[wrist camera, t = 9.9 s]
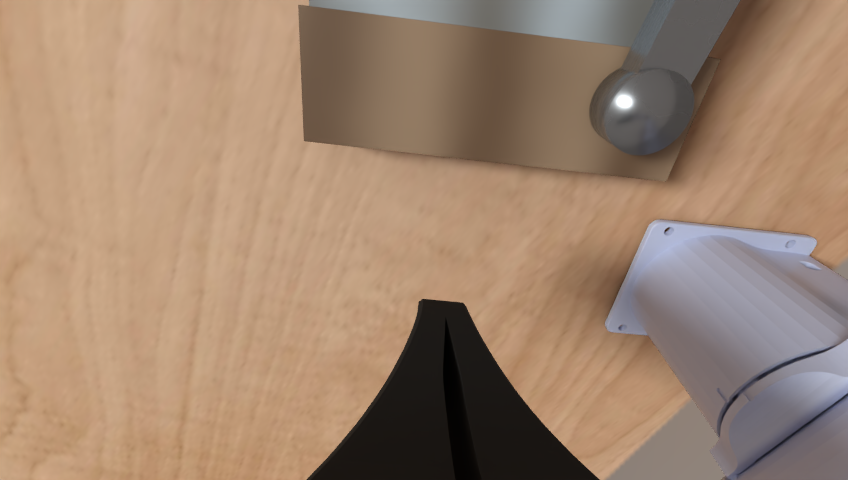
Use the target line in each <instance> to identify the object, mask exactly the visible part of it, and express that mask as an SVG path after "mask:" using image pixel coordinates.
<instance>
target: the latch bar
mask: <svg viewBox="0 0 848 480" xmlns="http://www.w3.org/2000/svg"><path fill="white" fill-rule="evenodd" d="M739 2H740V0H654V2H653V4H652V6H651V8H650V10H649V12H648V14H647V16H646V18H645V20H644V22H643V24H642V26H641V28H640V30H639V32H638V34H637V36H636V38H635V40H634V42H633V44H632V46H631V49H630V51H629V53H628V55H627V57H626V59H625V61H624V63H623V65H622V67H621V68H619V69H617V70H615V71H614V72H612V73H611V74H610V75H608V76H607V77H606V78H605V79H604V80H603V81H602V82H601V83H600V85H599V86H598V87H597V89H596V91H595V93H594V94H593V97H592V99H591V103H590V108H589V117H590V122H591V125H592V127H593V129H594V131H595V132H596V133H597V134H598V135H599V136H600V137H602V138H603V139H605V140H606V141H607V142H609V143H610V144H612V145H613V146H615V147H616V148H618V149H619V150H621V151H622V152H624V153H627V154H630V155H648V154H652V153H655V152H657V151H660V150H662V149H663V148H665V147H667V146H668V145H670V144H671V143H672V142H673V141H675V140H676V139H677V138H678V137H679V136H680V135H681V133H682V132H683V131H684V129H685V128H686V126H687V125H688V123H689V121H690V118H691V116H692V113H693V109H694V93H693V89H692V87H691V84H692V82H693V80H694V79H695V77H696V75H697V74H698V72H699V70H700V69H701V67H702V65H703V63H704V62H705V60H706V58H707V57H708V55H709V53H710V51H711V50H712V48H713V46H714V45H715V43H716V41H717V39H718V38H719V36H720V34H721V33H722V31H723V29H724V27H725V26H726V24H727V22H728V21H729V19H730V17H731V16H732V14H733V12H734V10H735V9H736V7H737V5H738V4H739Z"/></svg>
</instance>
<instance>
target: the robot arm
mask: <svg viewBox="0 0 848 480" xmlns="http://www.w3.org/2000/svg"><path fill="white" fill-rule="evenodd" d="M668 227H670V229H669V230H668V231H666V232H664V231H665V229H666V228H668ZM788 241H789V242H788ZM787 242H788V243H787ZM786 243H787V244H786ZM816 244H817V241H816V239H815V238H813V237H811V236H808V235H801V234H792V233H782V232H773V231H764V230H754V229H745V228H736V227H726V226H717V225H708V224H698V223H689V222H680V221H670V220H661V219H660V220H655V221H653V222H652V223H650V225H649V226H648V228H647V230H646V233H645V235H644V237H643V239H642V241H641V244H640V246H639V248H638V250H637V253H636V255H635V257H634V259H633V261H632V264H631V266H630V268H629V270H628V273H627V275H626V277H625V279H624V282H623V284H622V286H621V288H620V290H619V293H618V295H617V297H616V299H615V302H614V304H613V306H612V308H611V310H610V313H609V315H608V317H607V319H606V322H605V327H606V329H607V330H608V331H609V332H615V333H626V334H637V335H648V336H649V337H650V339H651V340H652V342H653V343H654V345H655V346H656V348H657V349H658V350H659V352H660V353H661V355H662V356H663V358H664V359H665V361H666V362H667V363H668V365H669V366H670V368H671V369H672V371H673V372H674V374H675V375H676V376H677V378H678V379H679V381H680V382H681V384H682V385H683V387H684V388H685V389H686V391H687V392H688V394H689V395H690V397H691V398H692V400H693V401H694V402H695V404H696V405H697V407H698V408H699V410H700V411H701V413H702V414H703V415H704V417H705V418H706V420H707V421H708V422H709V424H710V425H711V427H712V428H713V430H714V431H715V433H716V434H717V436H718V437H719V440H718V442H717V443H716V445H715V446H713V448H711V449H710V453H711V454H712V455H713V457H714V459H715V460H716V462H717V463H718V465H719V466H720V468H721V469H722V471H723V472H724V474H725V477H723V478H722V479H721V480H848V280H847V279H845V278H844V277H842V276H841V275H839V274H837V273H836V272H834V271H833V270H831V269H829V268H828V267H826V266H825V265H823V264H821V263H820V262H818V261H817V260H815V259H813V258H812V257H810V256H809V255H810V254H811V252H812V251H813V249H814V248H815V246H816ZM620 325H622V326H620ZM307 480H599V479H598V478H597V477H596V476H595V475H594V474H593V473H592V472H591V471H590V470H588V469H587V468H586V467H585V466H584V465H583V464H582V463H581V462H580V461H579V460H578V459H577V458H576V457H575V456H573V455H572V454H571V453H570V452H569V451H568V449H567V448H566V447H565V446H564V445H563V444H562V443H561V442H560V441H559V440H558V439H557V438H556V437H555V436H554V435H553V434H552V433H551V432H550V431H549V430H548V429H547V428H546V427H545V425H544V424H543V423H542V422H541V421H540V420H539V418H538V417H537V416H536V415H535V414H534V413H533V411H532V410H531V409H530V408H529V407H528V405H527V404H526V403H525V402H524V400H523V399H522V398H521V397H520V395H519V394H518V393H517V391H516V390H515V389H514V387H513V386H512V385H511V383H510V382H509V380H508V379H507V377H506V376H505V375H504V373H503V372H502V370H501V369H500V367H499V366H498V364H497V362H496V361H495V359H494V358H493V356H492V354H491V353H490V351H489V349H488V348H487V346H486V344H485V343H484V341H483V339H482V337H481V336H480V334H479V332H478V330H477V328H476V326H475V324H474V322H473V320H472V318H471V316H470V314H469V312H468V310H467V308H466V306H465V305H464V303H460V302H449V301H439V300H428V299H422V300H421V301H419V305H418V312H417V317H416V320H415V323H414V326H413V329H412V331H411V334H410V336H409V338H408V341H407V343H406V345H405V347H404V350H403V352H402V353H401V355H400V357H399V359H398V361H397V363H396V365H395V367H394V369H393V370H392V372H391V374H390V376H389V377H388V379H387V381H386V382H385V384H384V385H383V387H382V388H381V390H380V392H379V393H378V395H377V396H376V398H375V399H374V400H373V402H372V403H371V405H370V406H369V407H368V409H367V410H366V412H365V413H364V414H363V416H362V417H361V418H360V420H359V421H358V422H357V424H356V425H355V426H354V427H353V429H352V430H351V431H350V432H349V433H348V434H347V436H346V437H345V438H344V439H343V440H342V442H341V443H340V444H339V445H338V446H337V448H336V449H335V450H334V451H333V452H332V453H331V454H330V456H329V457H328V458H327V459H326V460H325V461H324V462H323V463H322V464H321V465H320V466H319V467H318V468H317V469H316V470H315V471H314V472H313V473H312V474H311V476H310V477H309V478H308V479H307Z"/></svg>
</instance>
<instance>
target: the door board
mask: <svg viewBox="0 0 848 480" xmlns="http://www.w3.org/2000/svg"><path fill="white" fill-rule="evenodd" d="M653 2H654V0H309V6H304V5H298V8H299V32H300V56H301V80H302V104H303V128H304V141H308V142H317V143H326V144H335V145H344V146H353V147H362V148H371V149H380V150H389V151H397V152H406V153H415V154H424V155H433V156H442V157H451V158H460V159H469V160H478V161H487V162H496V163H505V164H514V165H522V166H531V167H540V168H549V169H558V170H567V171H576V172H585V173H594V174H603V175H612V176H621V177H630V178H638V179H647V180H656V181H665V182H666V181H667V178H668V176H669V174H670V172H671V170H672V167H673V165H674V163H675V161H676V158H677V156H678V154H679V152H680V149H681V147H682V145H683V143H684V140H685V138H686V136H687V134H688V131H689V129H690V127H691V125H692V122H693V120H694V118H695V116H696V113H697V111H698V109H699V107H700V105H701V102H702V100H703V98H704V96H705V93H706V91H707V89H708V87H709V84H710V82H711V80H712V78H713V75H714V73H715V71H716V69H717V66H718V64H719V62H720V60H721V59H717V58H710V57H707V58H706V60H705V62H704V63H703V65H702V67H701V69H700V70H699V72H698V74H697V75H696V77H695V79H694V80H693V82H692V84H691V87H692V89H693V93H694V109H693V113H692V116H691V118H690V121H689V123H688V125H687V126H686V128H685V129H684V131H683V132H682V133H681V135H680V136H679V137H678V138H677V139H676V140H675V141H673V142H672V143H671V144H670V145H668V146H667V147H665V148H663V149H662V150H660V151H657V152H655V153H652V154H648V155H630V154H627V153H624V152H622V151H621V150H619V149H618V148H616V147H615V146H613V145H612V144H610V143H609V142H607V141H606V140H605V139H603V138H602V137H600V136H599V135H598V134H597V133H596V132H595V131H594V129H593V127H592V125H591V122H590V117H589V108H590V103H591V99H592V97H593V94H594V93H595V91H596V89H597V87H598V86H599V85H600V83H601V82H602V81H603V80H604V79H605V78H606V77H607V76H608V75H610V74H611V73H612V72H614V71H615V70H617V69H619V68H621V67H622V65H623V63H624V61H625V59H626V57H627V55H628V53H629V51H630V49H631V46H632V44H633V42H634V40H635V38H636V36H637V34H638V32H639V30H640V28H641V26H642V24H643V22H644V20H645V18H646V16H647V14H648V12H649V10H650V8H651V6H652V4H653Z"/></svg>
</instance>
